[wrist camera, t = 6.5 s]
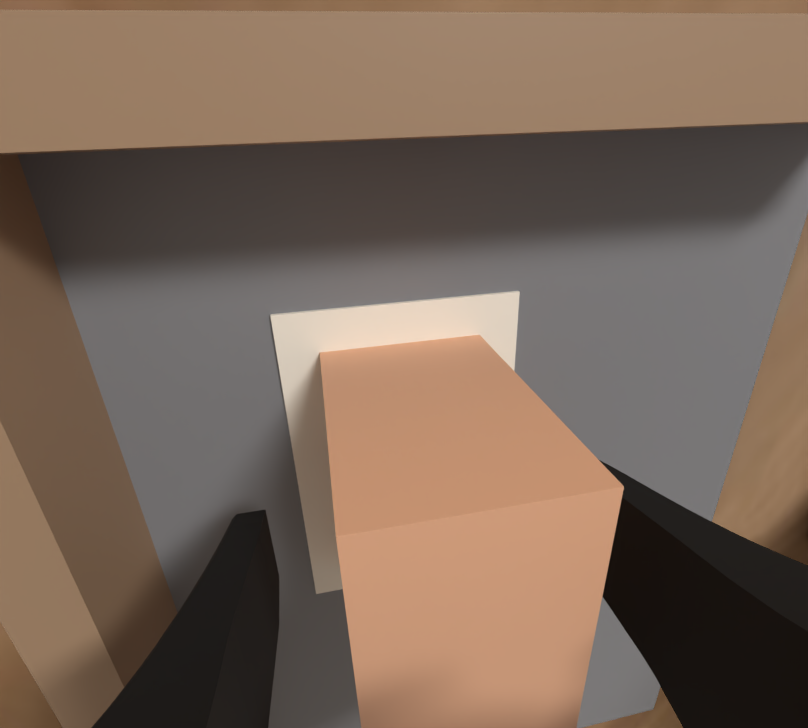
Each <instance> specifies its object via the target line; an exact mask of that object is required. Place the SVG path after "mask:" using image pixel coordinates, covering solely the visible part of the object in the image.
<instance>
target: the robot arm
mask: <svg viewBox="0 0 808 728" xmlns="http://www.w3.org/2000/svg"><path fill="white" fill-rule="evenodd" d="M599 461H600V460H599ZM600 462H601V463H602V464H603V465H604V466H605V467H606V468H607V469H608V470H609V471H610V472H611V473H612V474H613V475H614V477H615V478H616V479H617V480H618V481H619V482H620V483H621V484H622V485H623V486H624V490H623V495H622V500H621V505H620V510H619V515H618V520H617V525H616V530H615V535H614V540H613V545H612V551H611V556H610V561H609V566H608V571H607V576H606V581H605V586H604V591H603V596H602V597H603V598H604V600H605V601H606V602H607V604H608V605H609V607H610V608H611V610H612V611H613V613H614V614H615V616H616V617H617V619H618V620H619V622H620V623H621V625H622V626H623V628H624V629H625V631H626V632H627V634H628V635H629V636H630V638H631V639H632V641H633V642H634V644H635V645H636V647H637V648H638V650H639V651H640V653H641V654H642V656H643V658H644V659H645V661H646V662H647V664H648V666H649V667H650V669H651V670H652V672H653V674H654V675H655V677H656V679H657V681H658V682H659V684H660V686H661V688H662V690H663V691H664V693H665V695H666V697H667V699H668V700H669V702H670V704H671V706H672V708H673V709H674V711H675V713H676V715H677V717H678V718H679V720H680V722H681V724H682V726H683V728H808V566H807V565H805V564H802V563H800V562H798V561H795V560H793V559H791V558H788V557H786V556H784V555H781V554H779V553H777V552H775V551H772V550H770V549H768V548H765V547H763V546H761V545H758V544H756V543H754V542H752V541H750V540H748V539H746V538H743V537H741V536H739V535H737V534H735V533H733V532H731V531H729V530H727V529H725V528H723V527H721V526H719V525H717V524H715V523H713V522H711V521H709V520H707V519H705V518H703V517H702V516H700V515H698V514H696V513H694V512H692V511H690V510H688V509H687V508H685V507H683V506H681V505H679V504H677V503H676V502H674V501H672V500H670V499H668V498H666V497H665V496H663V495H661V494H659V493H658V492H656V491H654V490H652V489H651V488H649V487H647V486H645V485H643V484H642V483H640V482H638V481H636V480H635V479H633V478H631V477H629V476H628V475H626V474H624V473H622V472H621V471H619V470H617V469H615V468H613V467H612V466H610V465H608V464H606V463H604V462H602V461H600ZM278 632H279V573H278V568H277V563H276V558H275V553H274V548H273V544H272V539H271V534H270V529H269V524H268V519H267V515H266V510H259V511H252V512H246V513H240V514H236V515H235V516H234V518H233V519H232V520H231V522H230V524H229V526H228V528H227V530H226V532H225V534H224V536H223V538H222V540H221V542H220V543H219V545H218V547H217V549H216V551H215V552H214V554H213V556H212V558H211V559H210V561H209V563H208V565H207V566H206V568H205V570H204V572H203V573H202V575H201V576H200V578H199V580H198V581H197V583H196V585H195V586H194V588H193V590H192V591H191V593H190V594H189V596H188V598H187V599H186V601H185V602H184V604H183V606H182V607H181V609H180V610H179V612H178V613H177V615H176V616H175V618H174V619H173V620H172V622H171V623H170V625H169V626H168V628H167V629H166V631H165V632H164V634H163V635H162V637H161V638H160V640H159V641H158V643H157V644H156V645H155V647H154V648H153V650H152V651H151V652H150V654H149V655H148V657H147V658H146V659H145V661H144V662H143V663H142V665H141V666H140V667H139V669H138V670H137V671H136V673H135V674H134V675H133V677H132V678H131V679H130V681H129V682H128V683H127V684H126V686H125V687H124V688H123V690H122V691H121V692H120V693H119V695H118V696H117V697H116V699H115V700H114V701H113V702H112V704H111V705H110V706H109V707H108V708H107V710H106V711H105V712H104V713H103V714H102V716H101V717H100V718H99V719H98V720H97V722H96V723H95V724H94V725H93V726H92V728H268V724H269V715H270V706H271V697H272V688H273V679H274V670H275V661H276V651H277V642H278Z"/></svg>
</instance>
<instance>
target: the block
mask: <svg viewBox="0 0 808 728" xmlns="http://www.w3.org/2000/svg"><path fill="white" fill-rule="evenodd" d="M320 362H321V374H322V385H323V396H324V408H325V419H326V430H327V442H328V453H329V464H330V476H331V487H332V499H333V510H334V521H335V533H336V542H337V549H338V557H339V564H340V572H341V579H342V587H343V594H344V602H345V609H346V617H347V624H348V632H349V639H350V647H351V654H352V662H353V669H354V677H355V684H356V692H357V699H358V707H359V714H360V722H361V728H576V727H577V722H578V717H579V712H580V707H581V702H582V697H583V692H584V687H585V682H586V677H587V672H588V667H589V662H590V657H591V652H592V647H593V642H594V636H595V631H596V626H597V621H598V616H599V611H600V606H601V601H602V596H603V591H604V586H605V581H606V576H607V571H608V566H609V561H610V556H611V551H612V545H613V540H614V535H615V530H616V525H617V520H618V515H619V510H620V505H621V500H622V495H623V490H624V486H623V485H622V484H621V483H620V482H619V481H618V480H617V479H616V478H615V477H614V475H613V474H612V473H611V472H610V471H609V470H608V469H607V468H606V467H605V466H604V465H603V464H602V463H601V462H600V461H599V460H598V459H597V458H596V457H595V456H594V454H593V453H592V452H591V451H590V450H589V449H588V448H587V447H586V446H585V445H584V444H583V443H582V442H581V441H580V440H579V439H578V438H577V437H576V436H575V434H574V433H573V432H572V431H571V430H570V429H569V428H568V427H567V426H566V425H565V424H564V423H563V422H562V421H561V420H560V419H559V418H558V417H557V416H556V415H555V413H554V412H553V411H552V410H551V409H550V408H549V407H548V406H547V405H546V404H545V403H544V402H543V401H542V400H541V399H540V398H539V397H538V396H537V395H536V394H535V392H534V391H533V390H532V389H531V388H530V387H529V386H528V385H527V384H526V383H525V382H524V381H523V380H522V379H521V378H520V377H519V376H518V375H517V374H516V372H515V371H514V370H513V369H512V368H511V367H510V366H509V365H508V364H507V363H506V362H505V361H504V360H503V359H502V358H501V357H500V356H499V355H498V354H497V353H496V351H495V350H494V349H493V348H492V347H491V346H490V345H489V344H488V343H487V342H486V341H485V340H484V339H483V338H482V337H481V336H480V335H472V336H463V337H454V338H445V339H436V340H427V341H418V342H409V343H400V344H391V345H383V346H374V347H365V348H356V349H347V350H338V351H329V352H320Z"/></svg>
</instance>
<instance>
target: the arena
mask: <svg viewBox="0 0 808 728" xmlns="http://www.w3.org/2000/svg"><path fill="white" fill-rule="evenodd" d="M807 213H808V14H780V13H571V12H361V11H151V10H0V622H1V624H2V626H3V627H4V629H5V631H6V632H7V634H8V636H9V637H10V639H11V641H12V643H13V644H14V646H15V648H16V649H17V651H18V653H19V654H20V656H21V658H22V660H23V661H24V663H25V665H26V666H27V668H28V670H29V671H30V673H31V675H32V677H33V678H34V680H35V682H36V683H37V685H38V687H39V688H40V690H41V692H42V694H43V695H44V697H45V699H46V700H47V702H48V704H49V705H50V707H51V709H52V711H53V712H54V714H55V716H56V717H57V719H58V721H59V722H60V724H61V726H62V728H92V726H93V725H94V724H95V723H96V722H97V720H98V719H99V718H100V717H101V716H102V714H103V713H104V712H105V711H106V710H107V708H108V707H109V706H110V705H111V704H112V702H113V701H114V700H115V699H116V697H117V696H118V695H119V693H120V692H121V691H122V690H123V688H124V687H125V686H126V684H127V683H128V682H129V681H130V679H131V678H132V677H133V675H134V674H135V673H136V671H137V670H138V669H139V667H140V666H141V665H142V663H143V662H144V661H145V659H146V658H147V657H148V655H149V654H150V652H151V651H152V650H153V648H154V647H155V645H156V644H157V643H158V641H159V640H160V638H161V637H162V635H163V634H164V632H165V631H166V629H167V628H168V626H169V625H170V623H171V622H172V620H173V619H174V618H175V616H176V615H177V613H178V612H179V610H180V609H181V607H182V606H183V604H184V602H185V601H186V599H187V598H188V596H189V594H190V593H191V591H192V590H193V588H194V586H195V585H196V583H197V581H198V580H199V578H200V576H201V575H202V573H203V572H204V570H205V568H206V566H207V565H208V563H209V561H210V559H211V558H212V556H213V554H214V552H215V551H216V549H217V547H218V545H219V543H220V542H221V540H222V538H223V536H224V534H225V532H226V530H227V528H228V526H229V524H230V522H231V520H232V519H233V518H234V516H235V515H236V514H240V513H246V512H252V511H259V510H266V515H267V519H268V524H269V529H270V534H271V539H272V544H273V548H274V553H275V558H276V563H277V568H278V573H279V632H278V642H277V651H276V661H275V670H274V679H273V688H272V697H271V706H270V715H269V724H268V728H361V722H360V714H359V707H358V699H357V692H356V684H355V677H354V669H353V662H352V654H351V647H350V639H349V632H348V624H347V617H346V609H345V602H344V594H343V587H342V579H341V572H340V564H339V557H338V549H337V542H336V533H335V521H334V510H333V499H332V487H331V476H330V464H329V453H328V442H327V430H326V419H325V408H324V396H323V385H322V374H321V362H320V352H329V351H338V350H347V349H356V348H365V347H374V346H383V345H391V344H400V343H409V342H418V341H427V340H436V339H445V338H454V337H463V336H472V335H480V336H481V337H482V338H483V339H484V340H485V341H486V342H487V343H488V344H489V345H490V346H491V347H492V348H493V349H494V350H495V351H496V353H497V354H498V355H499V356H500V357H501V358H502V359H503V360H504V361H505V362H506V363H507V364H508V365H509V366H510V367H511V368H512V369H513V370H514V371H515V372H516V374H517V375H518V376H519V377H520V378H521V379H522V380H523V381H524V382H525V383H526V384H527V385H528V386H529V387H530V388H531V389H532V390H533V391H534V392H535V394H536V395H537V396H538V397H539V398H540V399H541V400H542V401H543V402H544V403H545V404H546V405H547V406H548V407H549V408H550V409H551V410H552V411H553V412H554V413H555V415H556V416H557V417H558V418H559V419H560V420H561V421H562V422H563V423H564V424H565V425H566V426H567V427H568V428H569V429H570V430H571V431H572V432H573V433H574V434H575V436H576V437H577V438H578V439H579V440H580V441H581V442H582V443H583V444H584V445H585V446H586V447H587V448H588V449H589V450H590V451H591V452H592V453H593V454H594V456H595V457H596V458H597V459H598V460H600V461H602V462H604V463H606V464H608V465H610V466H612V467H613V468H615V469H617V470H619V471H621V472H622V473H624V474H626V475H628V476H629V477H631V478H633V479H635V480H636V481H638V482H640V483H642V484H643V485H645V486H647V487H649V488H651V489H652V490H654V491H656V492H658V493H659V494H661V495H663V496H665V497H666V498H668V499H670V500H672V501H674V502H676V503H677V504H679V505H681V506H683V507H685V508H687V509H688V510H690V511H692V512H694V513H696V514H698V515H700V516H702V517H703V518H705V519H707V520H709V521H711V522H712V519H713V516H714V513H715V509H716V506H717V503H718V500H719V496H720V493H721V490H722V487H723V484H724V480H725V477H726V474H727V471H728V467H729V464H730V461H731V458H732V455H733V451H734V448H735V445H736V442H737V438H738V435H739V432H740V429H741V426H742V422H743V419H744V416H745V413H746V410H747V406H748V403H749V400H750V397H751V393H752V390H753V387H754V384H755V381H756V377H757V374H758V371H759V368H760V364H761V361H762V358H763V355H764V352H765V348H766V345H767V342H768V339H769V336H770V332H771V329H772V326H773V323H774V319H775V316H776V313H777V310H778V307H779V303H780V300H781V297H782V294H783V290H784V287H785V284H786V281H787V278H788V274H789V271H790V268H791V265H792V261H793V258H794V255H795V252H796V249H797V245H798V242H799V239H800V236H801V233H802V229H803V226H804V223H805V220H806V216H807ZM659 690H660V684H659V682H658V681H657V679H656V677H655V675H654V674H653V672H652V670H651V669H650V667H649V666H648V664H647V662H646V661H645V659H644V658H643V656H642V654H641V653H640V651H639V650H638V648H637V647H636V645H635V644H634V642H633V641H632V639H631V638H630V636H629V635H628V634H627V632H626V631H625V629H624V628H623V626H622V625H621V623H620V622H619V620H618V619H617V617H616V616H615V614H614V613H613V611H612V610H611V608H610V607H609V605H608V604H607V602H606V601H605V600H604V598H603V597H602V601H601V606H600V611H599V616H598V621H597V626H596V631H595V636H594V642H593V647H592V652H591V657H590V662H589V667H588V672H587V677H586V682H585V687H584V692H583V697H582V702H581V707H580V712H579V717H578V722H577V727H576V728H583V727H586V726H590V725H594V724H598V723H602V722H606V721H610V720H614V719H617V718H621V717H625V716H629V715H633V714H637V713H641V712H645V711H648V710H652V709H654V706H655V702H656V699H657V696H658V693H659Z"/></svg>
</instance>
